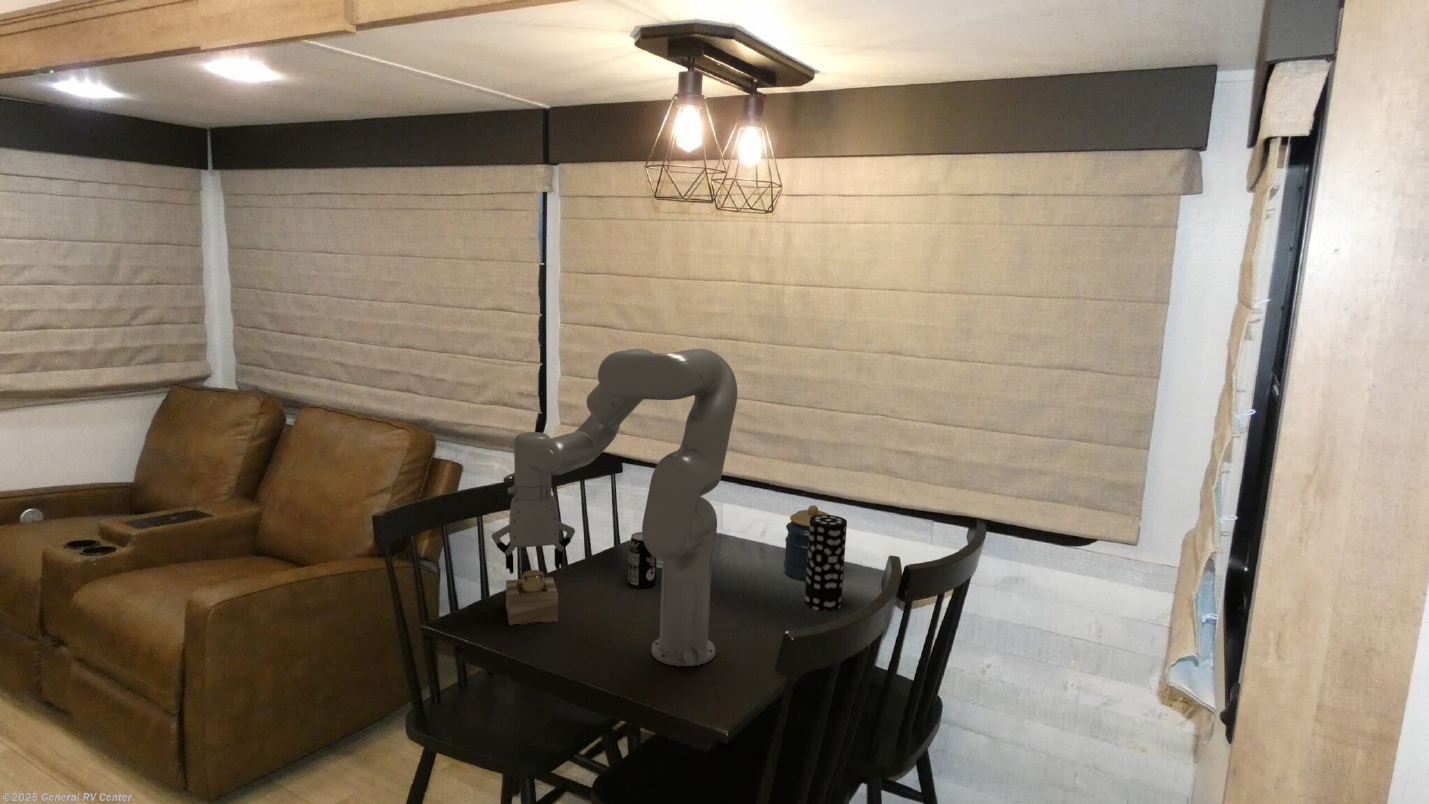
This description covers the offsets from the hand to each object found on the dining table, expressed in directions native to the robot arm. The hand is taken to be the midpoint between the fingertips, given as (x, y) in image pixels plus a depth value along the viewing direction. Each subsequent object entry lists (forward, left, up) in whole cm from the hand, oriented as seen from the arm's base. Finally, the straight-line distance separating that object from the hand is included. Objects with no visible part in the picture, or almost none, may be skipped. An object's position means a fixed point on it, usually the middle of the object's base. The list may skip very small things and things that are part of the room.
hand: (534, 569), depth 180 cm
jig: (0, 0, -10) cm, 10 cm away
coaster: (+25, -37, -11) cm, 46 cm away
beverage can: (+12, -27, -10) cm, 31 cm away
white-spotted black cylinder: (-8, -65, -10) cm, 66 cm away
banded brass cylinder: (0, 0, -9) cm, 9 cm away
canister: (+11, -70, -10) cm, 71 cm away
